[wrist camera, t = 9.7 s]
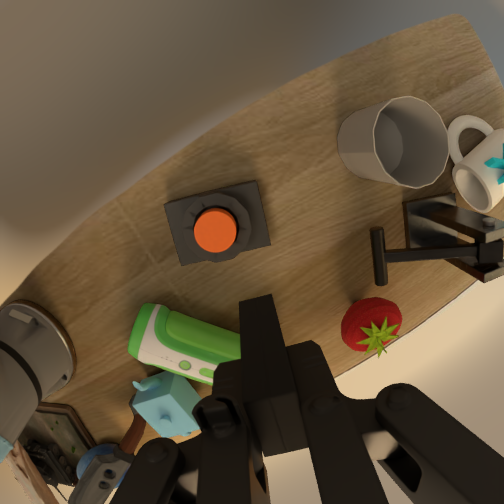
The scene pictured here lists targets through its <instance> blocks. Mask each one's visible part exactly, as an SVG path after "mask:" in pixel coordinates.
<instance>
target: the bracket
mask: <svg viewBox="0 0 504 504" xmlns="http://www.w3.org/2000/svg"><path fill="white" fill-rule="evenodd" d="M402 206H403V215H404V225H405V236H406V248H417V247H431V246H444V245H457V244H470V243H469V242H467V241H464V240H462V239H460V238H458V235H457V231H458V232H460V233H462V234H465V235H467V236H469V237H472V238H474V239H476V240H479V241H481V242H483V243H489V242H492V241H495V240H498V239H501V238H503V237H504V221H502V220H499V219H496V218H493V217H490V216H487V215H483V214H480V213H477V212H474V211H471V210H467V209H464V208H461V207H457V206H456V198H455V193H451V192H449V193H444V194H439V195H434V196H429V197H425V198H420V199H415V200H410V201H406V202H402ZM444 260H446V261H447V262H449V263H451V264H453V265H454V266H456V267H458V268H459V269H461V270H463V271H465V272H466V273H468V274H470V275H471V276H473V277H475V278H476V279H478V280H479V281H481V282H483V283H486V282H488V281H491V280H493V279H495V278H498V277H500V276H502V275H504V259H503V262H500V263H488V264H479V263H478V261H477V259H476V257H475V256H474V257H462V258H449V259H444Z"/></svg>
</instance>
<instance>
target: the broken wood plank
mask: <svg viewBox="0 0 504 504" xmlns="http://www.w3.org/2000/svg"><path fill="white" fill-rule="evenodd" d="M4 459H5V461H6V462H7V464H8V465H9V467H10V468H11V470H12V472H13V473H14V475H15V477H16V480H17V481H18V482H19V484H20V485H21V487H22V489H23V490H24V492H25V493H26V495H27V496H28V498H29V499H30V501H31V502H32V503H33V504H59V503H58V501H57V500H56V498H55V496H54V495H53V493H52V492H51V490H50V488H49V487H48V486H47V484H46V482H45V481H44V480H43V478H42V476H41V474H40V473H39V471H38V470H37V468H36V467H35V465H34V464H33V462H32V461H31V459H30V457H29V456H28V454H27V452H26V451H25V449H24V448H23V447H22V446H21V444H20V443H19V441H18V440H17V441H16V443H15V444H14V446H13V449H12V450H10V451H9V453H8V454H7V455H6V457H5V458H4Z"/></svg>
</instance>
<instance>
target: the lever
mask: <svg viewBox="0 0 504 504" xmlns="http://www.w3.org/2000/svg"><path fill="white" fill-rule="evenodd" d="M369 231H370V239H371V248H372V257H373V268H374V279H375V285H377V286H384V285H387V284H388V274H387V263H392V262H407V261H421V260H435V259H449V258H462V257H474V256H475V257H476V259H477V261H478V263H479V264H488V263H500V262H503V248H504V241H503V240H502V239H498V240H495V241H492V242H489V243H483V242H481V241H479V240H476V239H475V243H470V244H457V245H444V246H431V247H417V248H404V249H390V250H386V249H385V239H384V229H383V227H372V228H370V230H369Z"/></svg>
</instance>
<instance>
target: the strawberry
mask: <svg viewBox="0 0 504 504" xmlns="http://www.w3.org/2000/svg"><path fill="white" fill-rule="evenodd" d="M401 323H402V315H401V312H400V310H399V308H398V306H397V305H396V304H395V303H393V302H391V301H389V300H386V299H383V298H378V297H374V298H366V299H362V300H359V301H357V302H355V303H353V304H352V305H351V306H350V308H349V309H348V310H347V312H346V314H345V316H344V317H343V320H342V323H341V335H342V339H343V341H344V343H346V344H347V345H348V346H349V347H350V348H351V349H353V350H355V351H366V353H365V354H367V353H368V352H370V351H372V350H375V349H377V353H378V357H379V356H380V354H381V352H382V350H384V351H385V352H386V350H385V349H384V345H385V344H387V343H388V342H389V341H391V340H392V339H394V338H396V337H399V335H396V333H397V332H398V330H399V329H400V326H401ZM386 353H387V352H386ZM365 354H364V355H365Z"/></svg>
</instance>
